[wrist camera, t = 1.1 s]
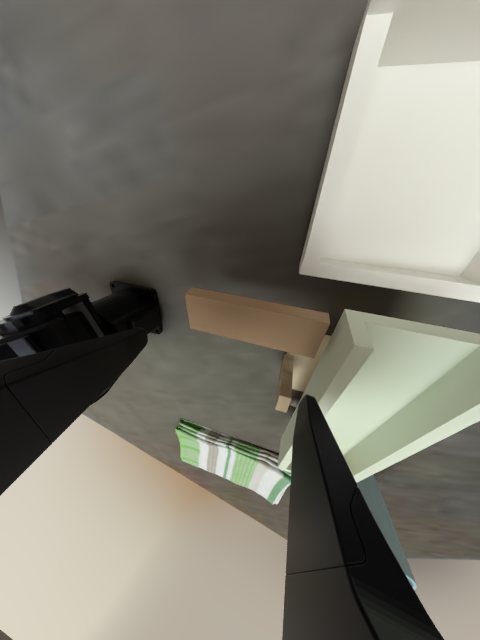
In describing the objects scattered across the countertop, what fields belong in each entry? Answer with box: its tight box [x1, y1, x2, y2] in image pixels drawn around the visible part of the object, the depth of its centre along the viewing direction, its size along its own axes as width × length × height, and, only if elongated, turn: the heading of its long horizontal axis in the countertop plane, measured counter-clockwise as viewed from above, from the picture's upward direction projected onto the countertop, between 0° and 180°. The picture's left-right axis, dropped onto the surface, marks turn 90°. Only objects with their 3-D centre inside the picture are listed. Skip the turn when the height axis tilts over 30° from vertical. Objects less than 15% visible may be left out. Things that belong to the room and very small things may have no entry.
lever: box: [185, 287, 480, 483], centre depth 16 cm, size 16×20×3 cm
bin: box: [299, 0, 480, 303], centre depth 10 cm, size 12×12×5 cm
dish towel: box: [175, 419, 291, 504], centre depth 37 cm, size 17×23×4 cm
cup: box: [357, 474, 417, 590], centre depth 23 cm, size 8×8×10 cm
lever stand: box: [275, 335, 331, 413], centre depth 18 cm, size 11×8×7 cm
